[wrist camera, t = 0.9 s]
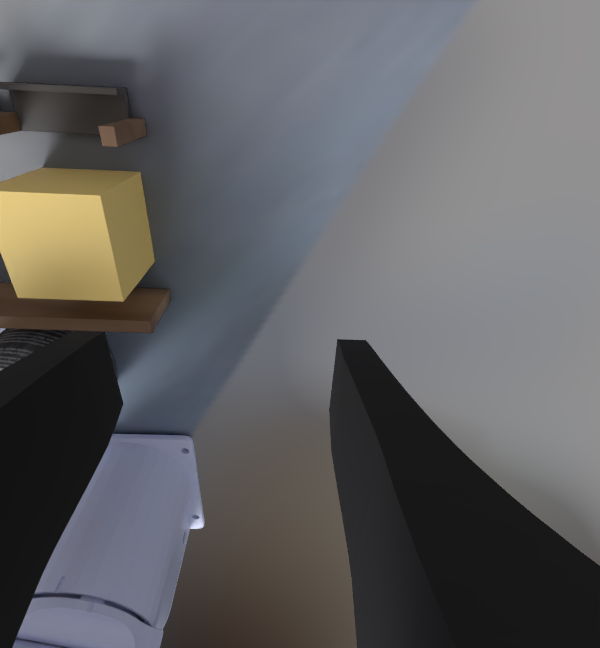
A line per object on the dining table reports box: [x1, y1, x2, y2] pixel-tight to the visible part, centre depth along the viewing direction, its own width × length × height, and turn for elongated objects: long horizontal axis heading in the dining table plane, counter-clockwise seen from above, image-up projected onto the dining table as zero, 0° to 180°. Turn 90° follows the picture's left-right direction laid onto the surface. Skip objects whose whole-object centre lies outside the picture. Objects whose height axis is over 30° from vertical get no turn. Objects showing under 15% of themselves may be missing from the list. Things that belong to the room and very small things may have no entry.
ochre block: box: [0, 168, 155, 302], centre depth 16 cm, size 4×4×4 cm
